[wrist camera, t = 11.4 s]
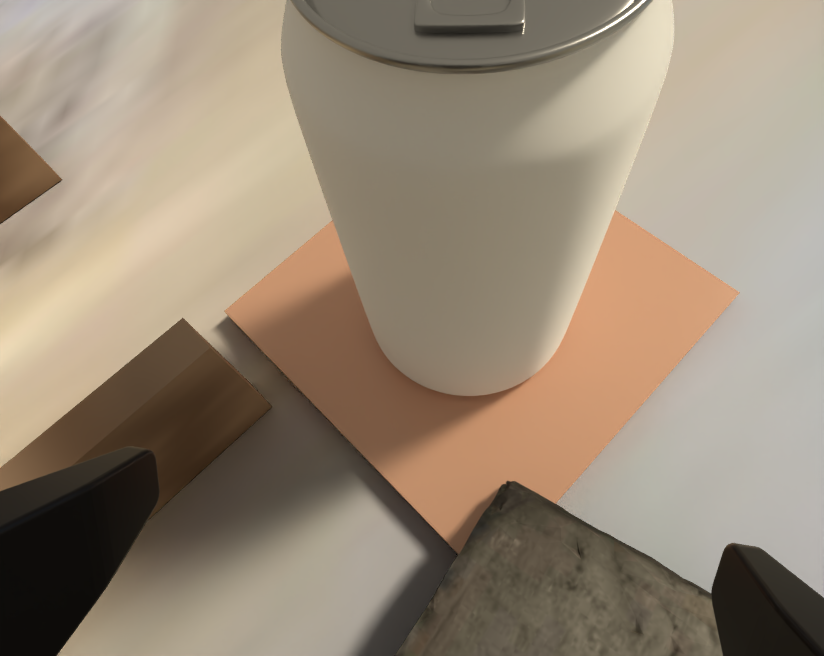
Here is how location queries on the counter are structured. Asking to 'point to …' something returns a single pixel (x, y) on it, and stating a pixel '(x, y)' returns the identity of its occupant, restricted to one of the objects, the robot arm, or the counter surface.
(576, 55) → the can
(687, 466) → the counter surface
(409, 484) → the tile
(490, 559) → the stone slab
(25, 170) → the rack
